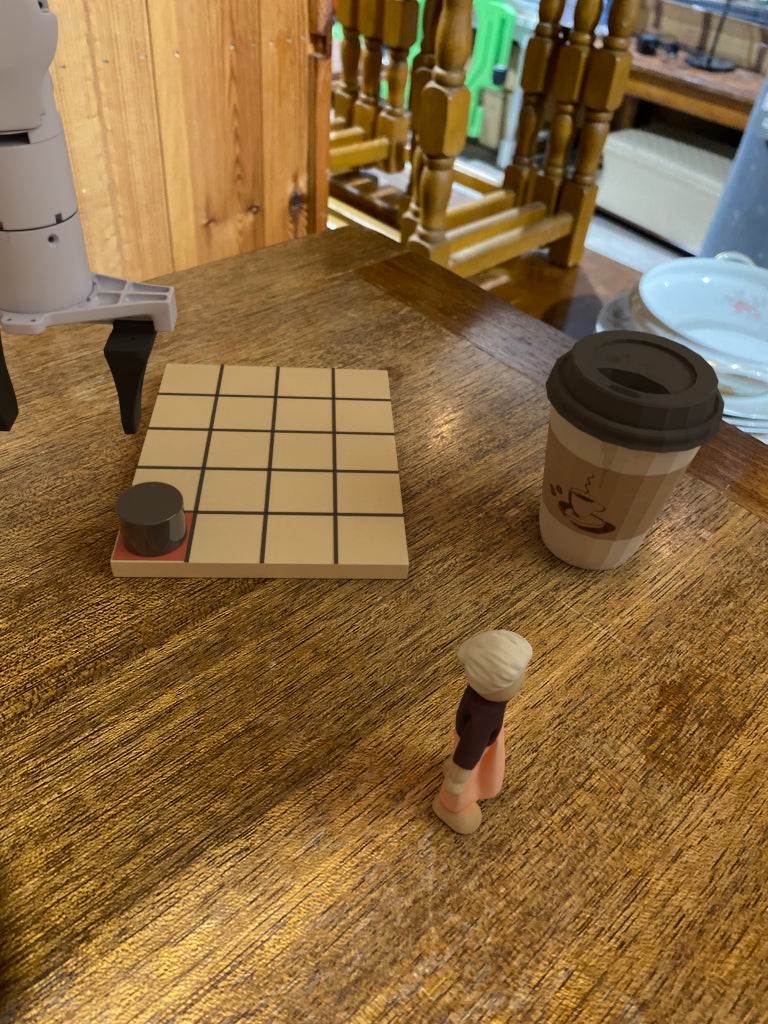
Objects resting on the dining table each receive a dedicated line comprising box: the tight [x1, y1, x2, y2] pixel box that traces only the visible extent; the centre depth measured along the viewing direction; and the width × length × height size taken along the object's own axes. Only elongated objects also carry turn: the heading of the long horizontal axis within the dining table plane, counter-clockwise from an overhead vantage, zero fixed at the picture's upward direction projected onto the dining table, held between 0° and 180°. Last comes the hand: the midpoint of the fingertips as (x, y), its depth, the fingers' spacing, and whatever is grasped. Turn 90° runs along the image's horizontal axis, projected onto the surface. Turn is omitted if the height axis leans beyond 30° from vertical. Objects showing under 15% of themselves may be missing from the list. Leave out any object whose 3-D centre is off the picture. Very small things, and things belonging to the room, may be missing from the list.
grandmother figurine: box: [431, 629, 534, 836], centre depth 39 cm, size 8×4×13 cm, turn 171°
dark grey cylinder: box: [114, 482, 188, 557], centre depth 53 cm, size 4×4×3 cm
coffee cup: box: [538, 329, 725, 571], centre depth 54 cm, size 11×11×15 cm
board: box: [109, 363, 410, 580], centre depth 62 cm, size 20×25×2 cm
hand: (71, 423), depth 50 cm, fingers open, 7 cm apart
